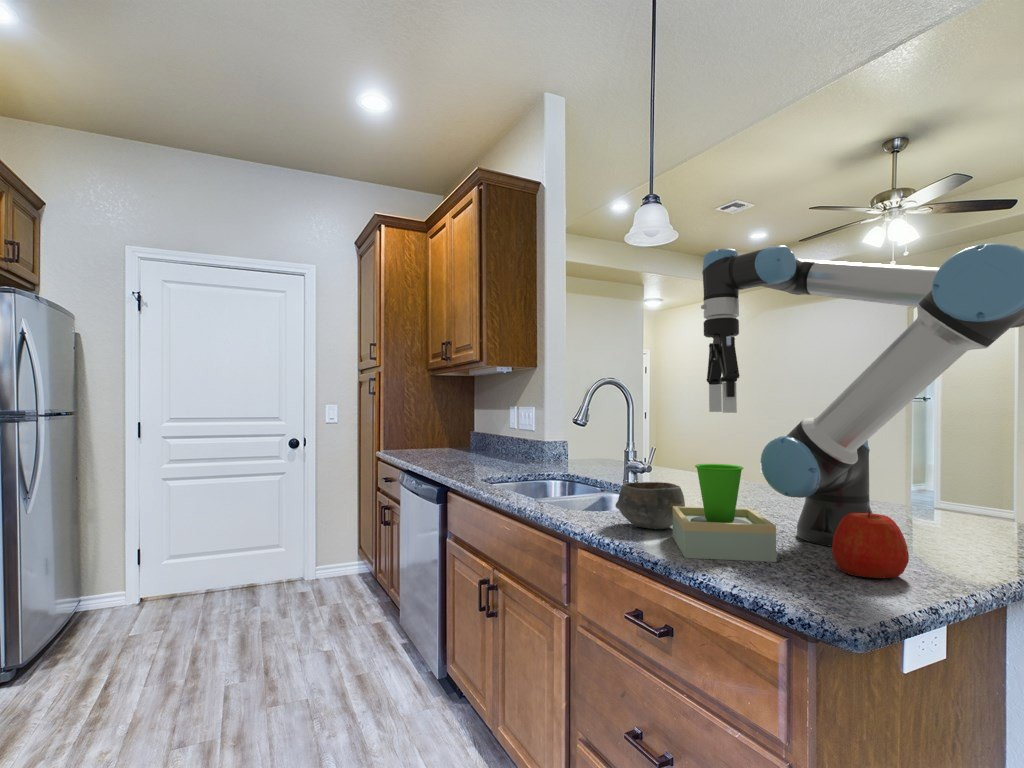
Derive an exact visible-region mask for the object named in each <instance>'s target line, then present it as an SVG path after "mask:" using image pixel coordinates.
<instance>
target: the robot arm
mask: <svg viewBox="0 0 1024 768" xmlns="http://www.w3.org/2000/svg"><path fill="white" fill-rule="evenodd" d="M702 261H703V262H702V263H703V265H702V272H701V273H702V283H703V284H702V285H703V299H702V300H703V304H702V305H700V309H701V310H703V318H704V319H705V320H704V321H703V336H704V337H705V338H712V339H713V340H712V342H711V343H709V345H708V347H709V348H708V351H709V353H708V362H707V363H708V365H707V373H706V374H707V375H706V382H707V383H708V410H709V413H721V412H722V413H724V414H725V413H726V414H729V413H731V414H732V413H733V414H734V413H737V412H738V409H737V405H738V402H737V381H738V379H739V378H740V376H741V375H740V371H739V364H738V356H737V351H736V341H735V340H736V338H735V337H736V336H737V337H738V335H739V334H740V320H739V319H738V317H739V316H740V298H739V292H740V291H741V290H746V289H751V288H759V287H764V288H767V289H772V290H776V291H781V292H786V293H788V294H791V295H796V296H801V295H803V296H804V295H806V296H809V295H810V296H817V297H818V296H819V297H827V298H834V299H836V298H837V299H844V300H852V301H861V302H869V303H870V302H871V303H879V304H886V305H896V306H903V307H904V306H906V307H912V308H916V310H917V318H916V319H915V320H914V321H913V322H912V323H911V324H910V325H909V326H908V327H907V328H906V329H905V330H904V331H903V332H902V333H901V334H900V335H899V336H898V337H897V338H896V339H894V341H893V342H892V343H891V344H889V346H888V347H886V348H885V350H884V351H882V352H881V354H879V356H878V357H877V358H876V359H874V361H872V363H870V364H869V366H868V367H866V368H865V369H864V370H863V371H862V372H861V374H859V375H858V376H857V377H856V378H855V379H854V380H853V381H852V382H851V384H849V385H848V386H847V387H846V388H845V389H844V390H843V391H842V392H841V393H840V394H839V395H838V396H837V397H836V398H835V399H834V400H833V401H832V402H831V403H829V405H828V406H827V407H826V408H825V409H824V410H823V411H822V412H821V413H820V414H819V415H818V416H817V417H805V418H803V419H802V420H801V421H800V422H799V423H798V424H797V425H795V426H794V428H793V429H792V430H791V431H790V432H789V433H788V434H787V435H786V436H785V435H783V436H779V437H777V438H776V437H775V438H773V439H772V440H770V441H769V442H768V443H767V444H766V445H765V446H764V448H763V450H762V452H761V455H760V464H761V465H760V466H761V468H760V469H761V472H762V475H763V477H764V480H766V482H767V484H768V485H769V487H771V488H772V489H773V490H774V491H776V492H777V493H779V494H780V495H783V496H786V497H788V498H798V499H799V498H800V499H801V498H802V499H803V498H805V499H804V500H805V501H804V503H803V506H802V509H801V512H800V515H799V517H798V520H797V524H796V536H797V537H798V538H799V539H801V540H803V541H806V542H808V543H813V544H816V545H817V544H818V545H823V546H828V547H832V544H833V536H834V534H835V531H836V529H837V527H838V524H839V523H840V521H841V519H842V518H843V517H844V516H846V515H847V514H849V513H868V511H870V512H871V513H873V510H872V509H871V504H870V502H871V501H870V499H871V498H870V451H871V450H870V448H869V447H870V446H869V441H868V440H869V439H870V438H871V437H873V435H875V434H876V433H877V432H878V431H879V430H881V429H882V428H883V427H884V426H886V424H887V423H888V422H889V421H891V420H892V418H894V417H895V416H896V415H897V414H898V413H900V412H901V411H902V410H903V409H904V408H905V407H907V405H909V404H910V403H911V401H913V400H914V399H915V398H916V397H918V396H919V395H920V393H922V392H923V391H924V390H925V389H926V388H928V387H929V386H930V385H931V384H932V383H933V382H934V381H935V380H936V379H938V377H940V376H941V375H942V374H943V373H944V372H945V371H946V370H948V369H949V368H950V367H951V366H952V365H953V364H954V363H955V362H956V361H958V360H959V359H960V358H962V356H963V355H965V354H966V353H967V352H968V351H973V350H983V349H988V348H989V347H990V346H991V345H992V344H993V343H995V342H996V341H997V339H999V338H1001V337H1002V335H1003V334H1005V333H1006V332H1007V331H1009V330H1010V329H1014V328H1021V327H1024V249H1022V248H1019V247H1018V246H1015V245H1010V244H1003V243H985V244H984V243H983V244H978V245H974V246H970V247H967V248H965V249H963V250H960V251H959V252H957V253H955V254H953V255H952V256H951V257H949V258H948V259H947V260H946V261H944V262H943V263H942V264H941V266H940V267H933V266H932V267H931V266H917V265H916V266H914V265H901V264H900V265H899V264H885V263H884V264H882V263H865V262H864V263H863V262H849V261H835V260H834V261H832V260H817V259H802V258H796V256H795V254H794V251H791V248H790V247H788V246H786V245H784V244H783V245H781V244H780V245H776V246H768V247H767V246H766V247H765V248H762V249H759V250H756V251H752V252H747V253H744V254H740V255H739V253H738V252H737V250H736V249H734V248H720V249H713V250H710V251H708V252H706V253H705V254H704V256H703V260H702Z"/></svg>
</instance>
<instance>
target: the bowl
mask: <svg viewBox="0 0 1024 768" xmlns="http://www.w3.org/2000/svg"><path fill="white" fill-rule="evenodd" d="M685 501H686V500H685V496H684V492H683V490H682V488H681V486H680V485H677V484H676V483H670V482H663V481H661V482H660V481H659V482H658V481H657V482H656V481H646V482H645V481H643V482H625V483H622V486H621V488H620V491H619V495H618V498H617V502H616V503H615V505H614V506H615V508H616V509H617V510H619V512H620V513H621V515H622V516H623V517H624V518H625V519H626V520H627V521H628V522H629V523H630V524H631V525H633V526H634V527H638V528H641V529H642V528H643V529H648V530H649V529H650V530H666V529H668V528H670V527H673V509H672V506H678V507H686V502H685Z"/></svg>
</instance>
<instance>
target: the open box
mask: <svg viewBox="0 0 1024 768" xmlns="http://www.w3.org/2000/svg"><path fill="white" fill-rule="evenodd" d="M672 509H673V525H672V538H673V540H674V542H675V543H676V545H677V547H678V548H679V550H680V552H681V554H682V556H683V558H685V559H701V560H702V559H705V560H706V559H710V560H723V561H724V560H728V561H745V562H746V561H750V562H770V563H777V526H776V524H774V523H772V522H771V521H770V520H768V519H767V518H765V517H764V516H762V515H761V514H759V512H757V511H755V510H753V509H752V508H739V507H736V510H735V516H734V521H733V523H718V522H707V519H706V518H705V513H704V507H703V506H700V507H699V506H685V507H678V506H672Z"/></svg>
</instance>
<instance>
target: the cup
mask: <svg viewBox="0 0 1024 768" xmlns="http://www.w3.org/2000/svg"><path fill="white" fill-rule="evenodd" d="M694 467H695V468H696V470H697V476H698V482H699V487H700V494H701V500H702V504H703V506H702V507H704V513H705V518H706V519H707V522H718V523H733V521H734V516H735V510H736V508H737V502H738V497H739V496H738V494H739V489H740V483H741V476H742V471H743V470H744V467H743V466H742V465H738V464H737V465H736V464H730V463H727V464H726V463H725V464H724V463H698V464H695V465H694Z"/></svg>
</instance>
